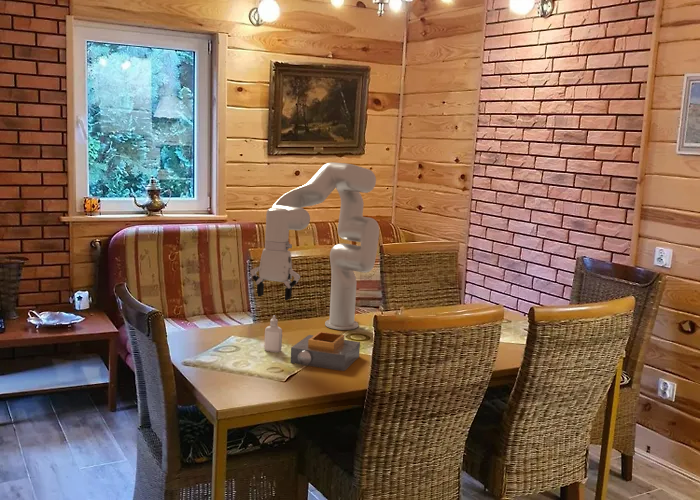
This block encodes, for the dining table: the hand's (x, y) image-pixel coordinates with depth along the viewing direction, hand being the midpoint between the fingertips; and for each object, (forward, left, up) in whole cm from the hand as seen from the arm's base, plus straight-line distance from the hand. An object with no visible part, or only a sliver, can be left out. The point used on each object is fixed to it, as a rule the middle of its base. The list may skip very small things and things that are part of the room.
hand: (273, 297), depth 237 cm
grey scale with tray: (+1, +19, -18) cm, 26 cm away
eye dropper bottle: (0, 0, -18) cm, 18 cm away
